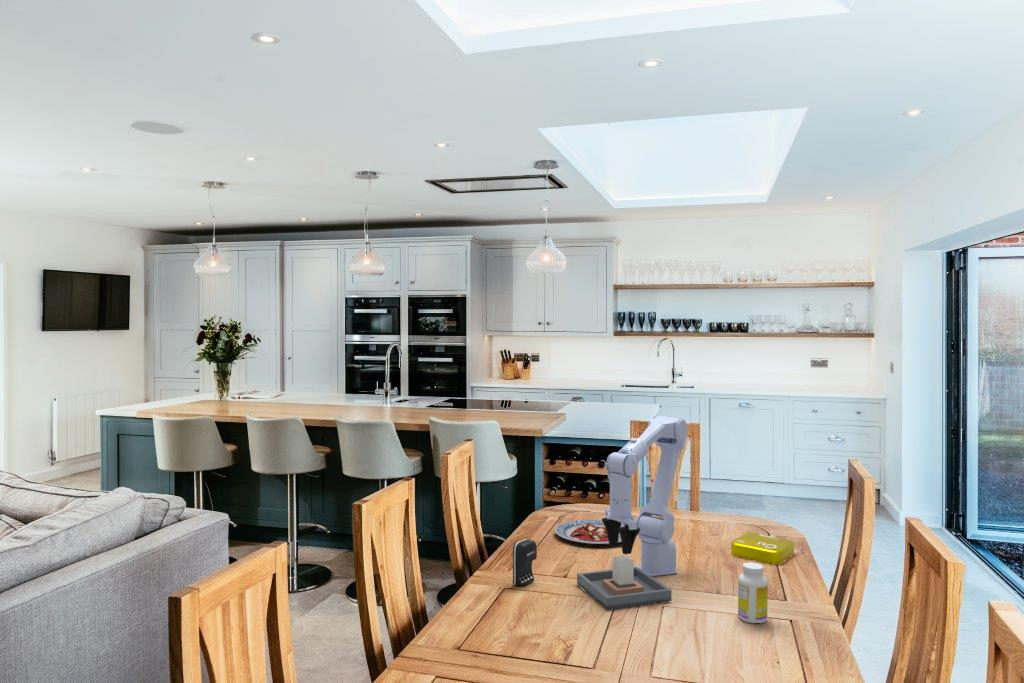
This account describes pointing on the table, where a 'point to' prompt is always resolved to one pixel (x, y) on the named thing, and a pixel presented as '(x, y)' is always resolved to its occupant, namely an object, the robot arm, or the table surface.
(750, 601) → the supplement bottle
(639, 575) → the walled box
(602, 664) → the table surface
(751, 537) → the element tile
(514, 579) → the battery charger
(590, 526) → the ceramic plate
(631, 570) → the grey square prism
